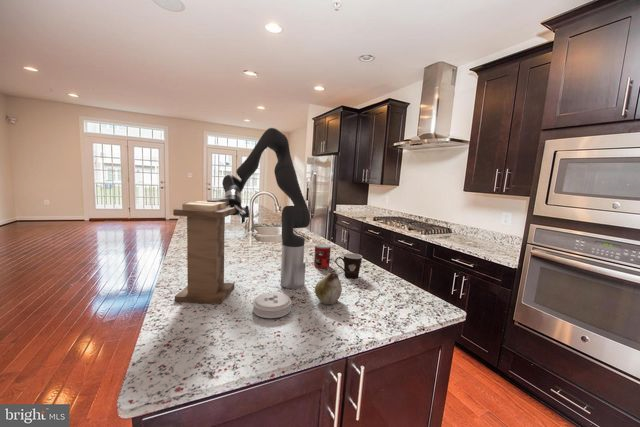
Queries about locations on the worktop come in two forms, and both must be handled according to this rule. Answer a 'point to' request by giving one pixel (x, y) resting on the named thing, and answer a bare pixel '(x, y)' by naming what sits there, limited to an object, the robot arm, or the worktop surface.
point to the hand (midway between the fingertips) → (231, 221)
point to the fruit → (328, 289)
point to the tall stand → (205, 257)
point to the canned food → (322, 255)
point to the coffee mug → (351, 265)
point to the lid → (271, 305)
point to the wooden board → (207, 205)
